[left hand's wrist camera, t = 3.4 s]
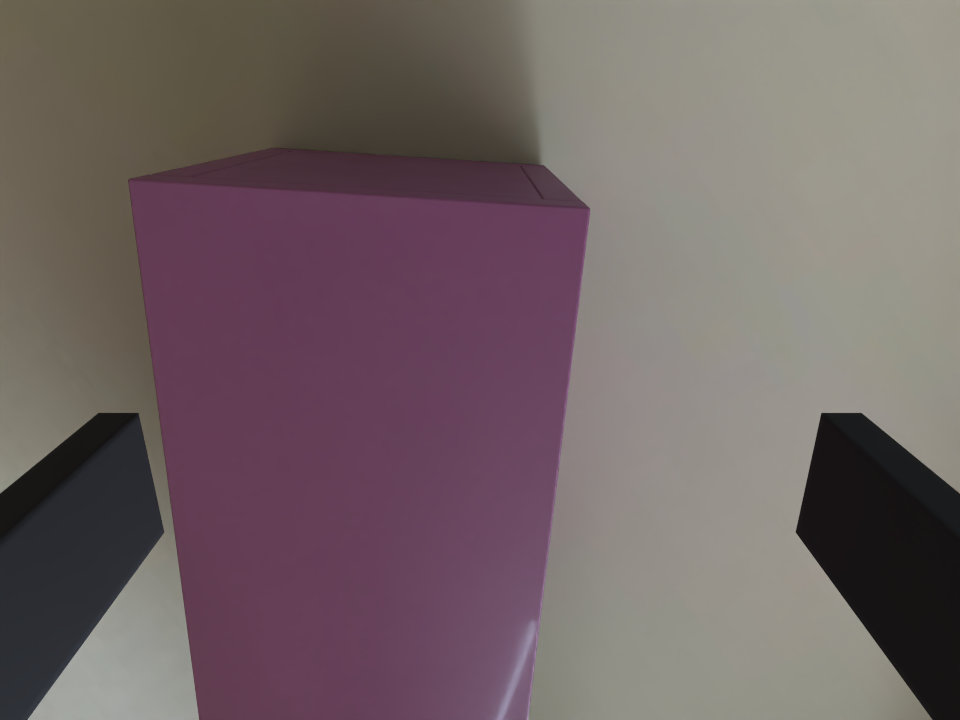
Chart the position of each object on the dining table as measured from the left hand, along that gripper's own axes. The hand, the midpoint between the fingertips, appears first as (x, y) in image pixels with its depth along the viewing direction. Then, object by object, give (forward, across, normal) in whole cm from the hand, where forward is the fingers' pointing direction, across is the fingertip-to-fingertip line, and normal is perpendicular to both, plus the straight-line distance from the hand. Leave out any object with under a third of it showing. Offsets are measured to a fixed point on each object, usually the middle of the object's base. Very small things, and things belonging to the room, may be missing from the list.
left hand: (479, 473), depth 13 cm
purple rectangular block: (+17, -4, -6) cm, 19 cm away
